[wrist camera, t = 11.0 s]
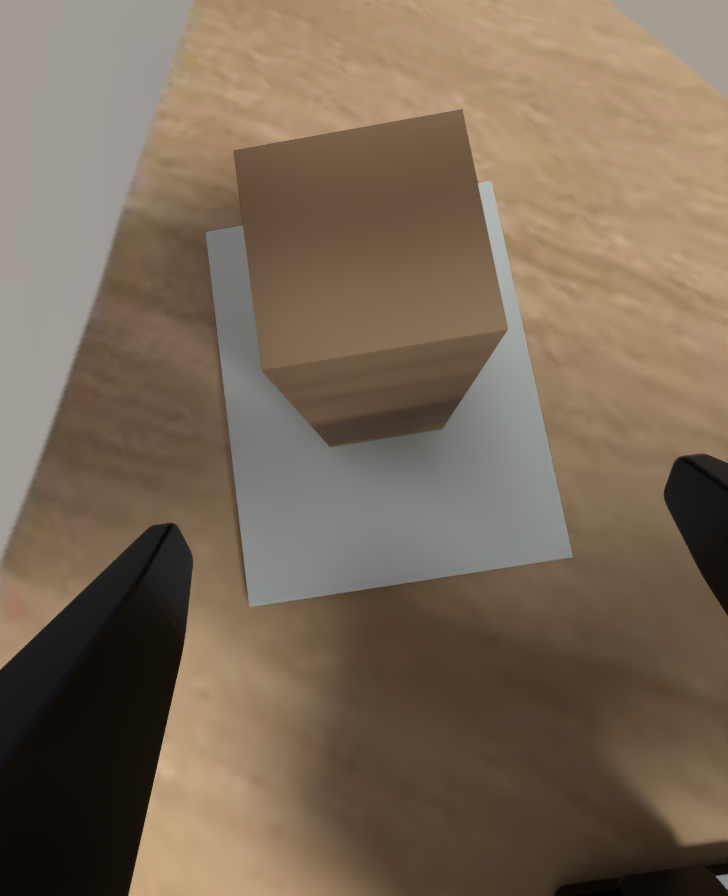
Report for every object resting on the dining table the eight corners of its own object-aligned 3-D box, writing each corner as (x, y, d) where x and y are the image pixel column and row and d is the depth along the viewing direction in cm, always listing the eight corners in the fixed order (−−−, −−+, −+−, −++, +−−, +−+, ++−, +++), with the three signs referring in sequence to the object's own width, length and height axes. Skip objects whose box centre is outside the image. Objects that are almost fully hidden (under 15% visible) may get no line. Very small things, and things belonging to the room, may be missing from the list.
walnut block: (442, 429, 16) (508, 329, 7) (330, 447, 16) (261, 369, 8) (423, 321, 17) (462, 109, 8) (314, 340, 17) (233, 150, 8)
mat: (567, 555, 16) (573, 557, 15) (253, 604, 16) (249, 607, 16) (488, 189, 18) (491, 180, 17) (210, 239, 18) (205, 231, 18)
